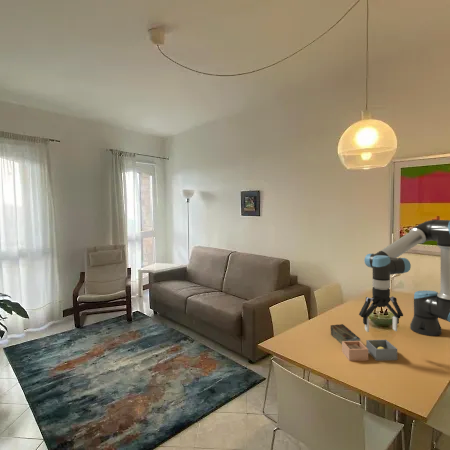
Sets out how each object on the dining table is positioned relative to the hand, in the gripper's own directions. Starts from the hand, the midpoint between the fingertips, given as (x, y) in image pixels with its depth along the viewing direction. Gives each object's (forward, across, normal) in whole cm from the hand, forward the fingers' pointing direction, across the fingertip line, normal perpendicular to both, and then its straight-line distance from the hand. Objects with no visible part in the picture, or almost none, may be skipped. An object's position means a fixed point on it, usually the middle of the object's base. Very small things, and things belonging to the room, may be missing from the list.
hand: (380, 330), depth 147 cm
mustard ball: (+12, 0, 0) cm, 12 cm away
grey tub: (+13, 0, 0) cm, 13 cm away
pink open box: (+13, +13, 0) cm, 18 cm away
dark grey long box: (+13, +11, -16) cm, 24 cm away
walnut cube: (+12, +13, 0) cm, 18 cm away
